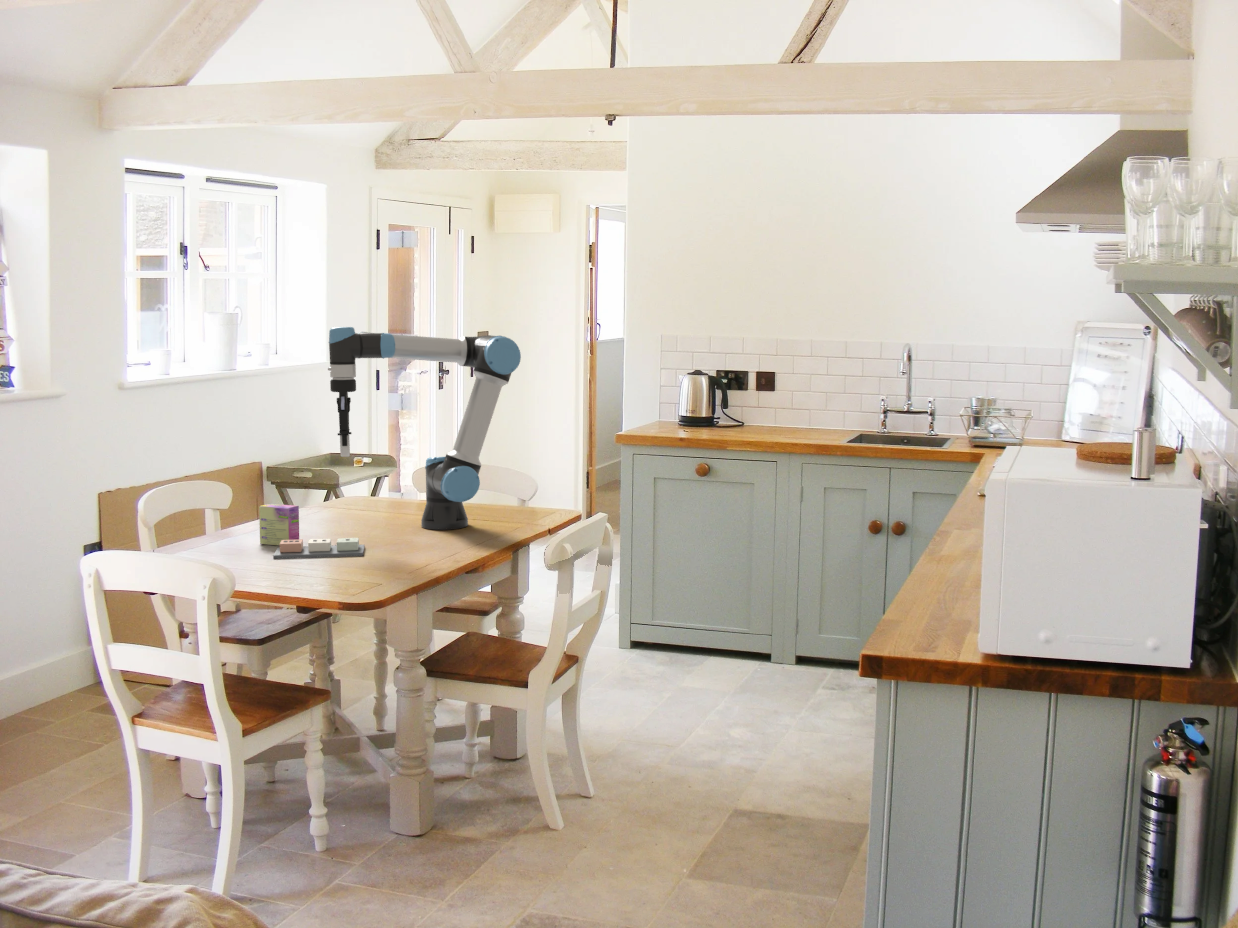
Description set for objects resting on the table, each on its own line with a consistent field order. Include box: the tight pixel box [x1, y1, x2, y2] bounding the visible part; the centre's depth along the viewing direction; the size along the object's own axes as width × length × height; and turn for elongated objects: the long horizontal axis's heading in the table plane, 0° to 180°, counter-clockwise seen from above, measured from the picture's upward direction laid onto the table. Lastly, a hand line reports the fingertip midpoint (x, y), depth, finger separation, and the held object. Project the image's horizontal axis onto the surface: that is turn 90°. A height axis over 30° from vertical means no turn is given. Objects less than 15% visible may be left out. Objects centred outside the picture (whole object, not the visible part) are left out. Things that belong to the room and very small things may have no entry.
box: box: [258, 503, 300, 547], centre depth 362 cm, size 10×6×12 cm, turn 71°
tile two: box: [307, 538, 332, 552], centre depth 349 cm, size 6×6×3 cm
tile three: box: [279, 538, 304, 552], centre depth 348 cm, size 6×6×3 cm
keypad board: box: [272, 544, 365, 560], centre depth 349 cm, size 25×12×1 cm, turn 100°
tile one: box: [336, 537, 360, 551], centre depth 350 cm, size 6×6×3 cm
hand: (345, 456), depth 362 cm, fingers closed
